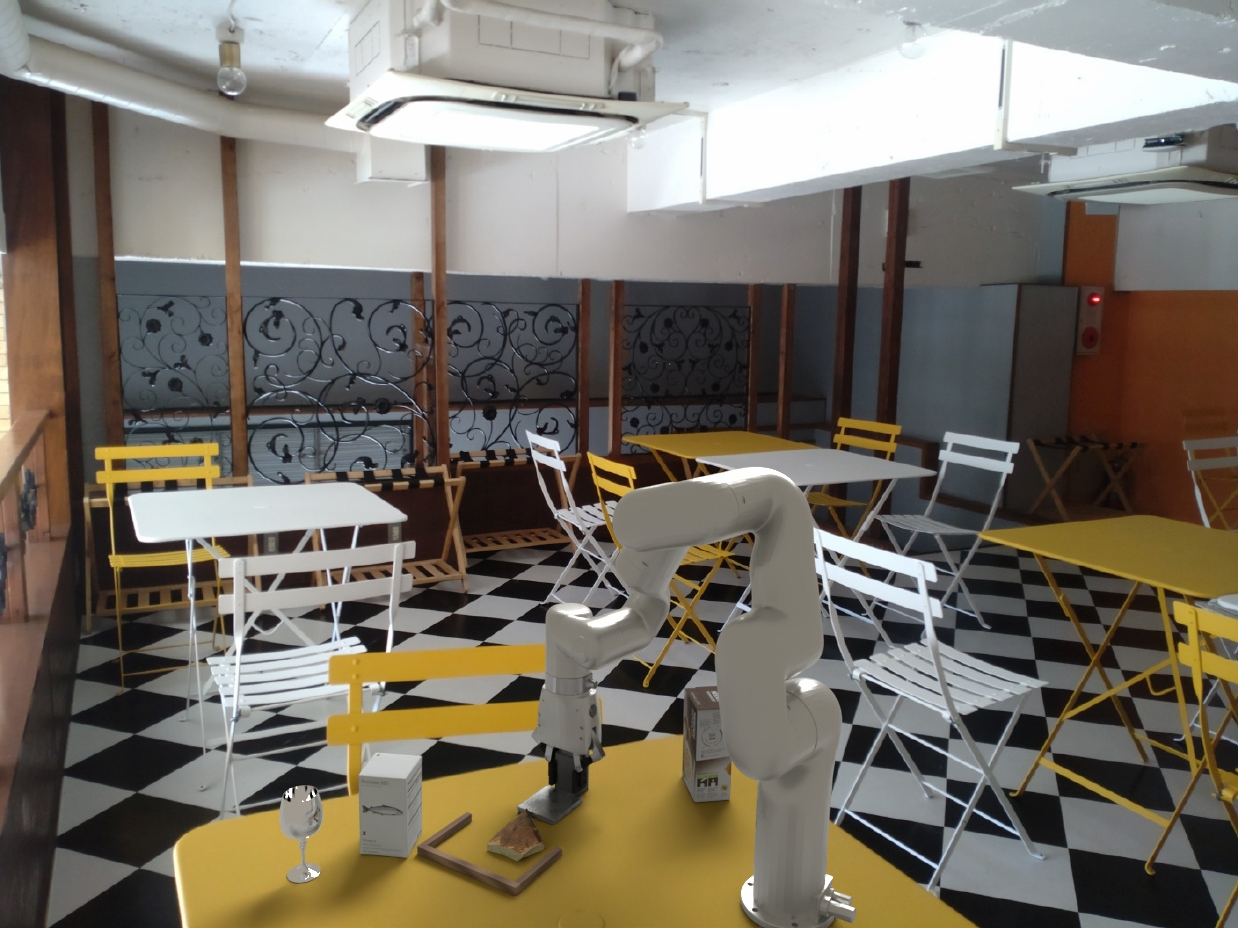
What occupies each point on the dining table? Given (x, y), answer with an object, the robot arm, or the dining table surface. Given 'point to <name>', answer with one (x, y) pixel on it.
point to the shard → (517, 838)
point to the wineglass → (301, 826)
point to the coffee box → (705, 746)
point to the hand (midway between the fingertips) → (567, 784)
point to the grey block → (556, 792)
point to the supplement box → (390, 804)
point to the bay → (478, 872)
